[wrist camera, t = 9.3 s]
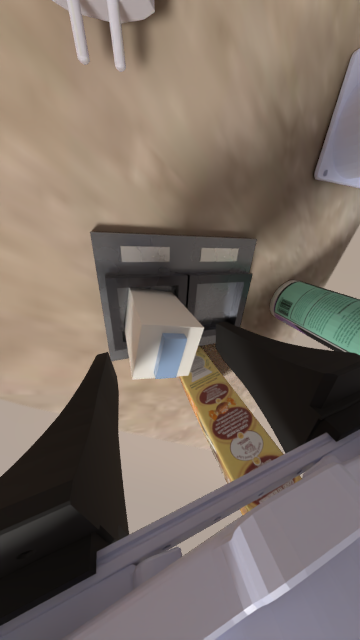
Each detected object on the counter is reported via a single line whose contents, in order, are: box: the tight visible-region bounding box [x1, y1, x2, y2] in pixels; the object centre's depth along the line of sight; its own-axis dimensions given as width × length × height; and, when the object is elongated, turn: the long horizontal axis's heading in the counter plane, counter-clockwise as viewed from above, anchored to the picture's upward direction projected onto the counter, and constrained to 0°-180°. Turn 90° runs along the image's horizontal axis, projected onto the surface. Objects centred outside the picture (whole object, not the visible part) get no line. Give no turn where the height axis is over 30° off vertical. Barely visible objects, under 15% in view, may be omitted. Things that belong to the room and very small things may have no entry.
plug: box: [124, 287, 204, 379], centre depth 14 cm, size 4×4×8 cm
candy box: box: [179, 346, 302, 515], centre depth 18 cm, size 9×4×15 cm, turn 15°
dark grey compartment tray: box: [90, 232, 257, 361], centre depth 18 cm, size 15×12×2 cm
